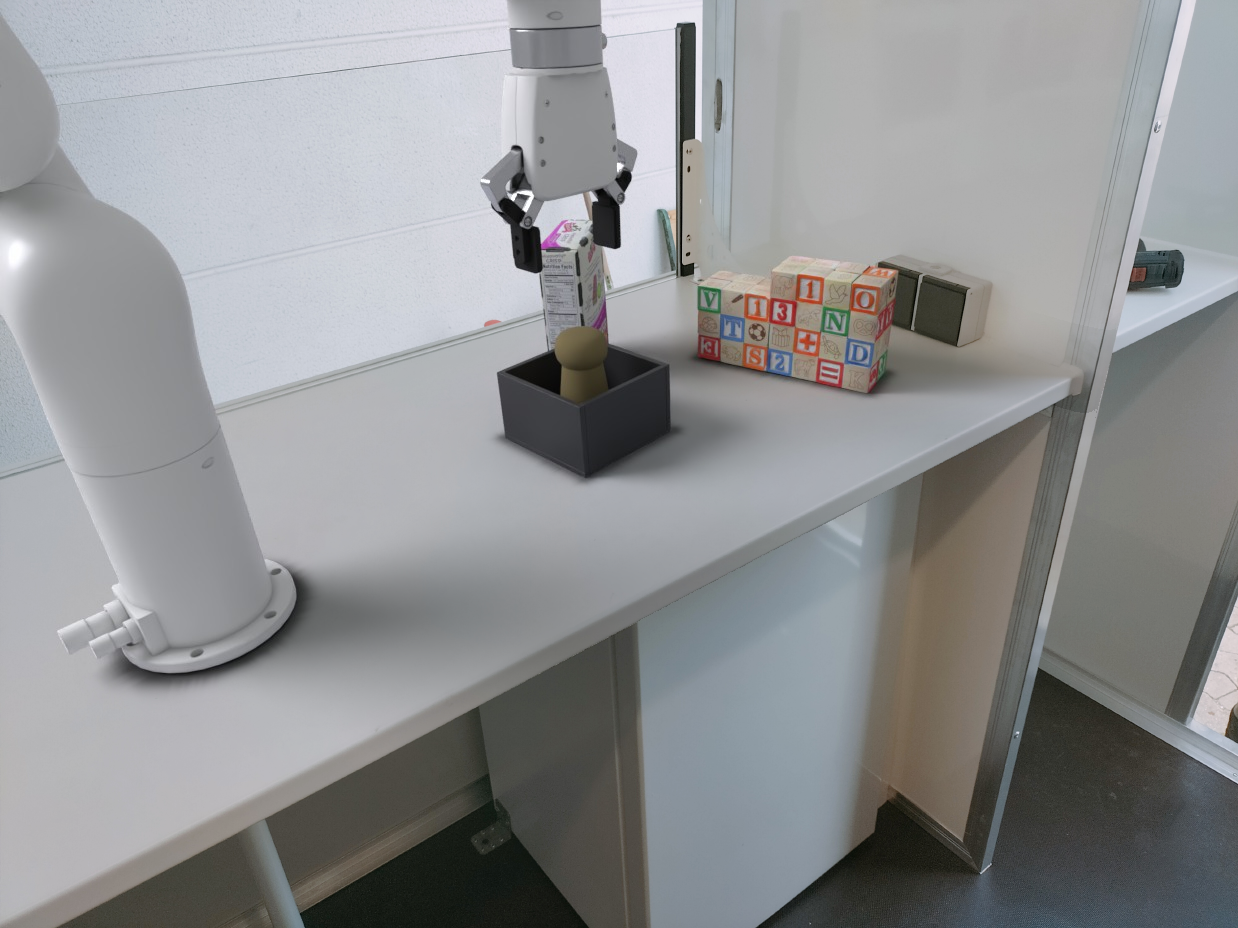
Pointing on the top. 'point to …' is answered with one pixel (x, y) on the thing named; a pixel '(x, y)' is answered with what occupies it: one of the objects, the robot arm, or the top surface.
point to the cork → (582, 362)
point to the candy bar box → (572, 280)
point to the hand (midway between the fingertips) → (569, 257)
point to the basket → (586, 410)
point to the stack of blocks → (801, 320)
